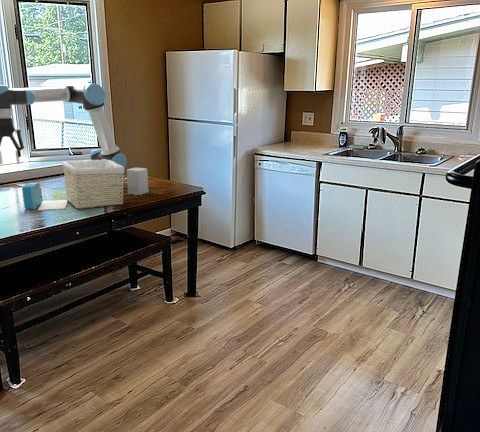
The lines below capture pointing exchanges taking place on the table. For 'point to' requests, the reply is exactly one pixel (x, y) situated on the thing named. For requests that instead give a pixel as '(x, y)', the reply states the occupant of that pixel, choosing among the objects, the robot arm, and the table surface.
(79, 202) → the basket
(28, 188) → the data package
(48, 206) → the white flat rectangular panel
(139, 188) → the supplement box
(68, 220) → the table surface
